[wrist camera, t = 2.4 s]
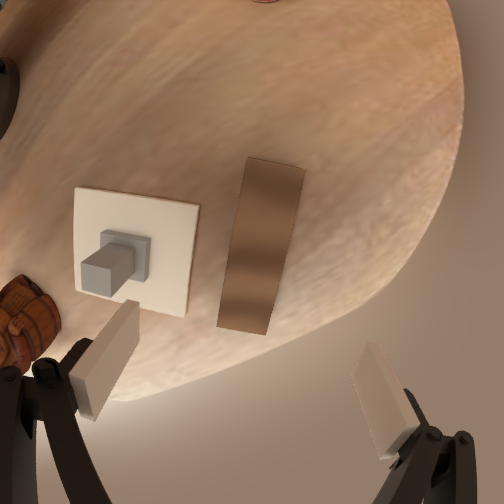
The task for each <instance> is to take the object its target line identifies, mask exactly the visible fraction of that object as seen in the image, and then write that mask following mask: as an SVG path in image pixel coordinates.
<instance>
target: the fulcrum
mask: <svg viewBox="0 0 504 504" xmlns="http://www.w3.org/2000/svg"><path fill="white" fill-rule="evenodd" d="M199 209H200V205H198V204H192V203H186V202H180V201H173V200H167V199H161V198H155V197H148V196H142V195H135V194H128V193H121V192H114V191H107V190H100V189H92V188H85V187H76V188H75V197H74V272H75V288H76V291H79V292H83V293H86V294H90V295H93V296H97V297H100V298H104V299H108V300H111V301H115V302H119V303H124V302H125V301H126V300H127V299H129V300H133V301H137V302H140V307H139V308H143V309H147V310H152V311H156V312H160V313H165V314H169V315H174V316H178V317H183V318H185V316H186V313H187V303H188V294H189V285H190V276H191V268H192V260H193V252H194V244H195V237H196V229H197V222H198V216H199Z"/></svg>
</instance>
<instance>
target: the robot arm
mask: <svg viewBox="0 0 504 504" xmlns="http://www.w3.org/2000/svg"><path fill="white" fill-rule="evenodd" d="M7 1H8V0H0V11H1V9H3V8H4V7H5V3H6V2H7ZM18 91H19V75H18V70H17V67H16V65H15V63H14V62H13V61H12V60H10V59H7V58H2V57H0V139H1V137H2V136H3V134H4V133H5V131H6V129H7V127H8V125H9V123H10V121H11V118H12V116H13V113H14V110H15V106H16V102H17V97H18ZM139 307H140V302H137V301H133V300H129V299H127V300H126V301H125V302H124V303H123V305H122V306H121V307H120V308H119V309H118V311H117V312H116V313H115V314H114V316H113V317H112V318H111V319H110V321H109V322H108V323H107V324H106V326H105V327H104V328H103V329H102V331H101V332H100V333H99V334H98V336H97V337H96V338H95V339H94V341H93V340H91V339H88V338H83V339H81V340H79V341H77V342H76V343H75V344H74V346H73V347H72V348H71V349H70V350H69V352H68V353H67V355H65V357H64V358H63V359H62V360H61V362H60V363H58V362H57V361H56V360H55V359H52V358H45V357H44V358H40V359H38V360H36V361H35V362H34V363H33V365H32V373H33V376H34V377H27V376H23V375H22V372H21V370H20V369H19V368H18V367H16V366H13V365H8V366H5V367H2V368H1V369H0V504H38V496H37V481H36V427H37V420H40V421H44V425H45V429H46V433H47V437H48V440H49V443H50V448H51V450H52V454H53V457H54V461H55V464H56V467H57V470H58V473H59V476H60V478H61V481H62V484H63V486H64V489H65V491H66V494H67V497H68V499H69V501H70V504H112V502H111V500H110V499H109V497H108V495H107V493H106V491H105V489H104V487H103V485H102V482H101V480H100V478H99V476H98V474H97V472H96V470H95V467H94V465H93V463H92V460H91V458H90V456H89V453H88V451H87V449H86V446H85V443H84V441H83V438H82V435H81V433H80V430H79V427H78V424H77V421H76V418H75V415H74V414H75V413H76V411H77V409H78V410H79V413H80V416H82V417H84V418H87V419H89V420H92V421H94V422H95V421H96V419H97V417H98V415H99V413H100V411H101V409H102V408H103V406H104V404H105V402H106V400H107V398H108V396H109V394H110V393H111V391H112V389H113V387H114V385H115V383H116V382H117V380H118V378H119V376H120V374H121V373H122V371H123V369H124V367H125V366H126V364H127V362H128V360H129V358H130V357H131V355H132V353H133V351H134V350H135V348H136V346H137V344H138V343H139ZM351 379H352V382H353V385H354V388H355V390H356V393H357V396H358V399H359V402H360V405H361V407H362V410H363V413H364V416H365V419H366V422H367V425H368V428H369V431H370V433H371V437H372V440H373V443H374V446H375V449H376V452H377V455H378V459H379V460H380V459H389V458H392V457H393V456H394V455H395V454H396V453H397V452H398V453H399V456H400V457H399V458H398V459H397V460H396V461H395V462H394V463H393V464H392V465H391V466H390V468H389V469H391V468H392V467H393V468H392V470H391V472H390V474H389V475H388V478H387V479H386V481H385V483H384V485H383V486H382V488H381V490H380V491H379V493H378V495H377V497H376V498H375V500H374V501H373V503H372V504H421V503H422V500H423V498H424V501H423V504H477V473H476V459H475V447H474V440H473V437H472V436H471V435H470V434H469V433H468V432H466V431H458V432H457V433H456V434H455V435H454V437H450V436H443V434H442V432H441V431H440V430H439V429H438V428H436V427H433V426H429V424H428V422H427V420H426V418H425V416H424V414H423V412H422V410H421V409H420V408H419V405H418V403H417V401H416V399H415V397H414V395H413V394H412V393H411V392H410V391H409V390H408V389H403V388H402V386H401V385H400V383H399V381H398V379H397V377H396V375H395V373H394V371H393V370H392V368H391V366H390V364H389V362H388V361H387V359H386V357H385V355H384V353H383V351H382V349H381V348H380V346H379V344H378V343H374V342H367V343H366V345H365V347H364V349H363V351H362V354H361V356H360V358H359V360H358V362H357V364H356V366H355V368H354V370H353V372H352V374H351Z"/></svg>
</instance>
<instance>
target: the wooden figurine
mask: <svg viewBox="0 0 504 504" xmlns="http://www.w3.org/2000/svg"><path fill="white" fill-rule="evenodd" d="M60 328H61V324H60V316H59V313H58V310H57V307H56V305H55V304H54V302H53V300H52V299H51V298H50V296H49V295H44V294H43V292H42V291H41V289H40V288H38V287H37V286H36V284H35V283H33V282H31V283H28V282H27V281H26V280H25V278H24V277H23V275H22V274H21V275H19V276H17V277H16V278H14V279H13V280H12V281H10V282H9V283H8V284H7V285H6V286H5V287H4V288H3V289H2V290H1V291H0V369H1V368H2V367H5V366H8V365H13V366H16V367H18V368H19V369H20V370H21V372H22V375H24V374H25V373H26V372H27V371H28V370H29V368H30V366H31V362H32V361H35V360H36V359H38V358H39V357H40V356H41V355H42V354H43V353H44V352H45V351H46V349H47V348H48V347H49V346H50V345H51V343H52V342H53V340H54V339H55V338H56V336H57V334H58V333H59V331H60Z"/></svg>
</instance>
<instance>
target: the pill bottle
mask: <svg viewBox="0 0 504 504" xmlns="http://www.w3.org/2000/svg"><path fill="white" fill-rule="evenodd" d="M254 1H258V2H273V1H276V0H254Z"/></svg>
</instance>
